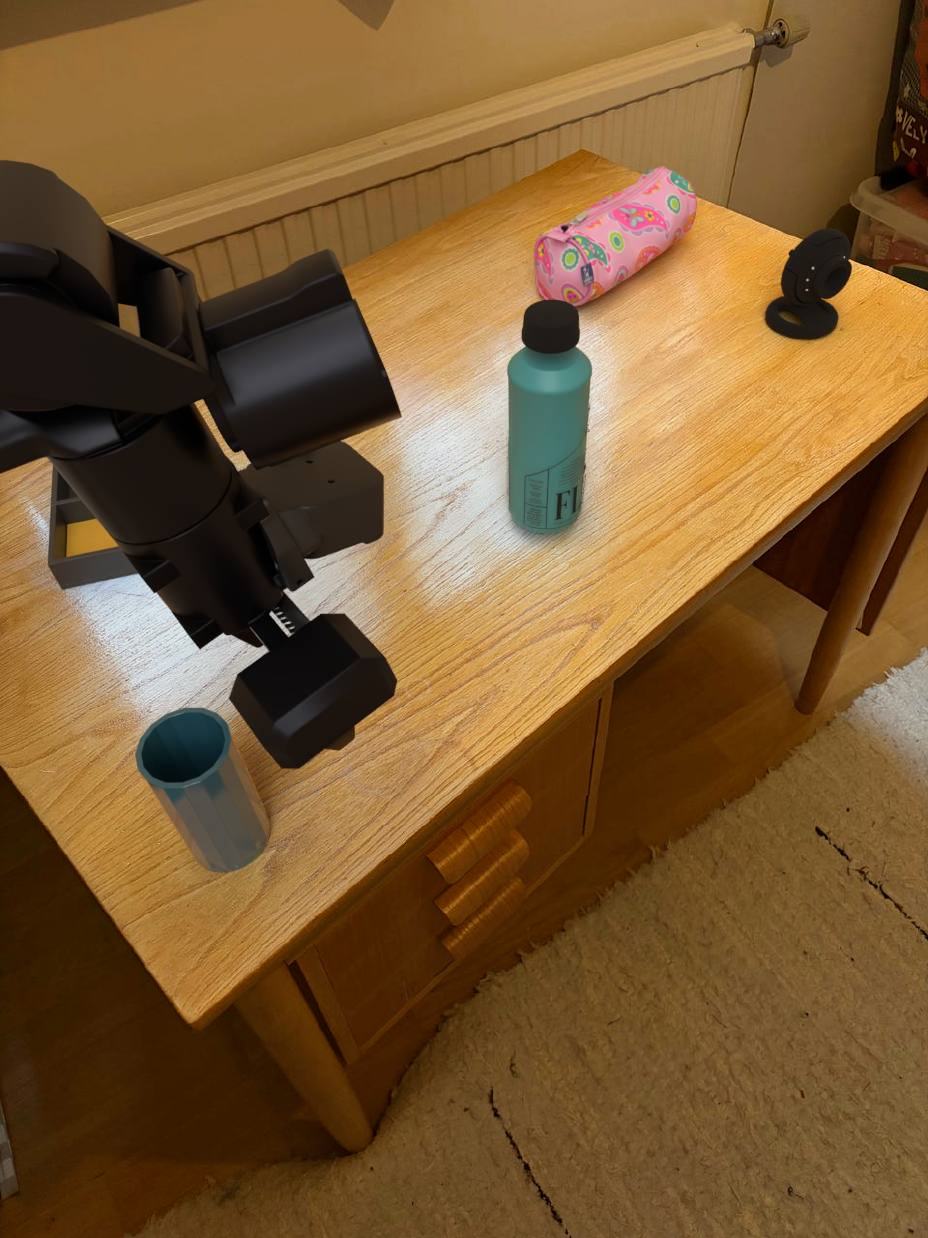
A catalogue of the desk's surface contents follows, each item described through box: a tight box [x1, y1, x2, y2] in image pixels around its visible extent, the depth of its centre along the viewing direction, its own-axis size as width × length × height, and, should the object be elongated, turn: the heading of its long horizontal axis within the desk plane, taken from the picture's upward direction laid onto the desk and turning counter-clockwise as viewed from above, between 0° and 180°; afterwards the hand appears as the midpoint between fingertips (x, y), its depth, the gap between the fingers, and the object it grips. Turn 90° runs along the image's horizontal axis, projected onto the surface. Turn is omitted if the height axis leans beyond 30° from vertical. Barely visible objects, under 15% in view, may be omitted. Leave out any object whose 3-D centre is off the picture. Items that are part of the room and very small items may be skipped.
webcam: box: [764, 227, 853, 340], centre depth 90 cm, size 8×8×10 cm
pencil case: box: [533, 165, 698, 308], centre depth 99 cm, size 21×9×9 cm, turn 136°
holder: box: [47, 465, 138, 590], centre depth 77 cm, size 15×8×3 cm, turn 15°
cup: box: [134, 707, 271, 873], centre depth 54 cm, size 5×5×11 cm
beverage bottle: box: [505, 299, 593, 534], centre depth 68 cm, size 6×7×20 cm
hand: (303, 689), depth 48 cm, fingers open, 9 cm apart
